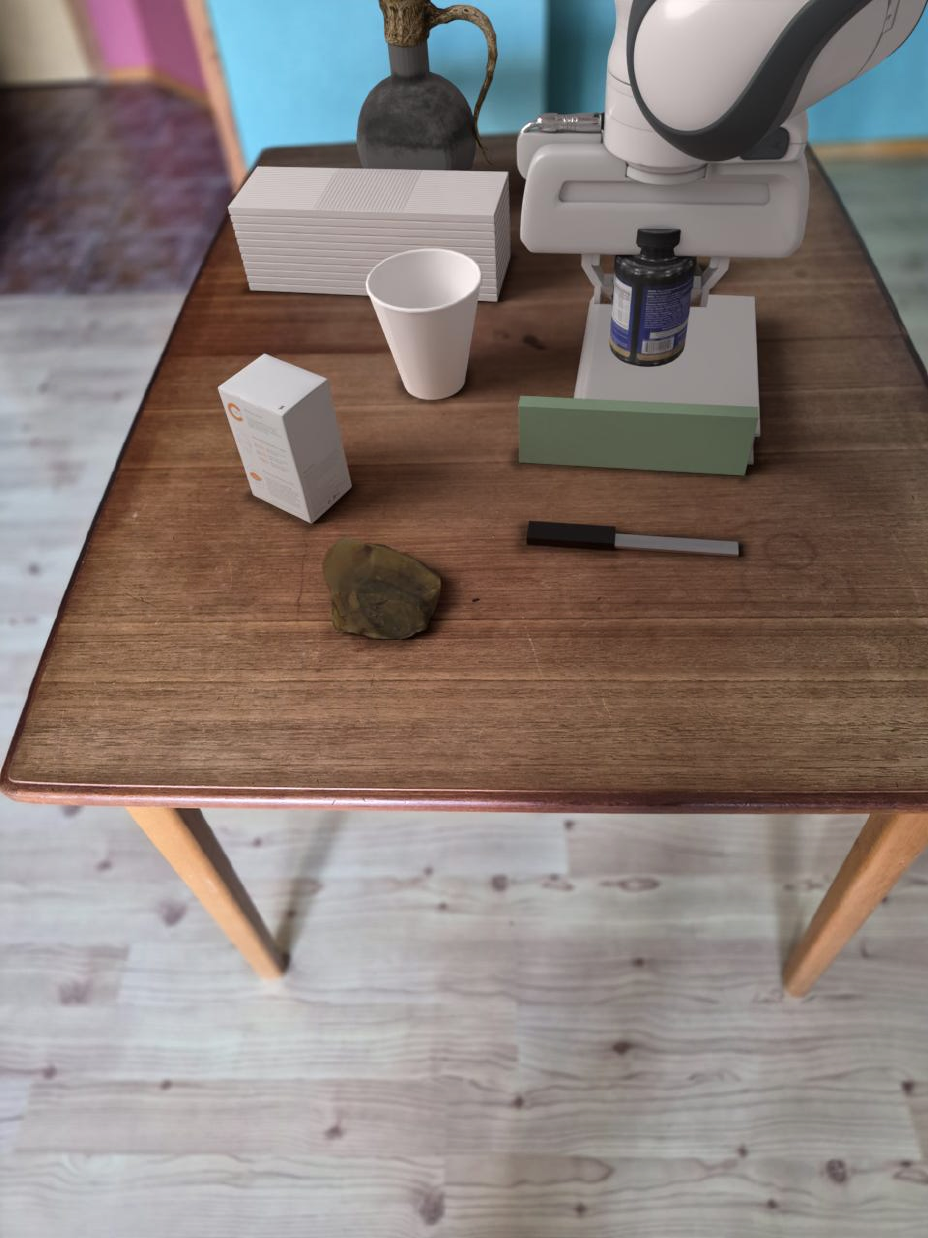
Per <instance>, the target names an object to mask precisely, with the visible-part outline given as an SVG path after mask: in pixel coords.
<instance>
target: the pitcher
mask: <svg viewBox="0 0 928 1238" xmlns="http://www.w3.org/2000/svg"><path fill="white" fill-rule="evenodd" d="M377 1H378V7H379V9H380V11H381V12H382V17H383V35H384V41H385V43H386V44H387V51H388V60H389V69H390V71H389V72H390V75H388V76H387V77H385V78H383V79H382V80H380V81H379V82H378V83H376V85H375V86H374V87H373V88H371V90H370V91H369V92H368V94H367V96H366V98H365V99H364V101H363V102H362V105H361V107H360V111H359V114H358V118H357V125H356V126H357V127H356V149H357V153H358V158H359V160H360V161H359V162H360V164H361V167H362V169H398V170H444V171H472V167H473V164H474V161H475V155H476V152H477V144H478V147H479V148H480V149H481V150H482V155H483V156H484V159H485V160H486V161H487V162H488V163H489V164H490V166H492V167H493V165H494V163H493V159H492V157H491V155H490V154H489V152H488V148H487V147H486V146H485V145H484V143H483V140H482V137H481V136H480V131H479V127H478V121H479V116H480V113H481V109H482V107H483V104H484V102H485V100H486V97H487V95H488V92H489V90H490V87H491V85H492V82H493V80H494V74H495V73H494V72H495V69H496V66H497V60H498V55H499V53H498V43H497V42H498V41H497V33H496V32H495V28H494V27H493V23H492V21H491V20H490V18H489V16H488V15H487V14H485V13H484V12H483V11H482V10H481V9H479V8H478V7H475V6H473V5H470V4H452V5H450V6H447V7H445V8H441V7H437V6H436V4H434V3H433V2H432V1H431V0H377ZM454 21H466V22H469V23H471V24H473V25H475V26H476V27H477V28H479V29H480V30H481V32H482V33H483V35H484V37H485V40H486V44H487V63H486V67H485V71H486V74H485V79H484V82H483V84H482V86H481V89H480V91H479V93H478V97H477V100H476V103H475V104H474V108H473V111H472V107H471V106H470V104H469V102H468V100H467V98H466V97H465V95H464V94H463V93H462V91H461V90H460V88H459V87H457V85H455V84H454V83H453V82H452V81H451V80H449V79H447V78H445V77H444V76H442V75H440V74H438V73H436V72H433V71H431V68H430V58H429V57H430V56H429V46H428V45H429V44H428V40H429V38H430V35H431V30H433V29H434V28H435V27H437V26H440V25H447V24H450V23H451V22H454Z"/></svg>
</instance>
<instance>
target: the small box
mask: <svg viewBox="0 0 928 1238" xmlns="http://www.w3.org/2000/svg"><path fill="white" fill-rule="evenodd" d="M217 390H218V393H219V396H220V399H221V403H222V405H223V408H224V411H225V414H226V416H227V420H228V423H229V426H230V429H231V432H232V435H233V438H234V441H235V444H236V448H237V450H238V453H239V456H240V460H241V463H242V465H243V468H244V471H245V475H246V477H247V480H248V484H249V487H250V489H251V494H252V495H253V496H254V497H256V498H258V499H260V500H262V501H263V502H266V503H268V504H271V505H272V506H274V507H277V508H278V509H279V510H283V511H285V512H286V513H289V514H291V515H292V516H293V517H294V516H295V517H296V518H299V519H300V520H303V521H305V522H307V523H309V524H310V525H311V524H314V522H316V521H317V520H318V519H319V518H320V517H321V516H322V515H323V514H325V513H326V512H327V511H328V510H329V509H330V508H331V507H333V505H334V504H335V503H337V502H338V501H339V500H340V499H341V498H342V497H343V496H344V495H345V494H346V493H347V492H348V491H349V490H350V489H351V488H352V485H353V484H352V481H351V480H352V479H351V476H350V472H349V468H348V463H347V457H346V453H345V449H344V444H343V439H342V436H341V431H340V426H339V423H338V418H337V414H336V409H335V404H334V401H333V396H332V391H331V387H330V382H329V379H328V377H324V376H322V375H319V374H317V373H314V372H312V371H309V370H307V369H304V368H302V367H299V366H297V365H295V364H292V363H290V362H287V361H285V360H282V359H280V358H277V357H274V356H272V355H269V354H267V353H262V355H260V356H259V357H257V358H256V359H254V360H253V361H252V362H251V363H249V364H247V366H245V367H244V368H242V369H241V370H240V371H238V372H237V373H235V374H234V375H233V376H231V377H230V378H229V379H227V380H226V381H224V382H223V383H221V384H220V385H218V387H217Z"/></svg>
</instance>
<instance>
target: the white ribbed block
mask: <svg viewBox="0 0 928 1238" xmlns="http://www.w3.org/2000/svg"><path fill="white" fill-rule="evenodd" d="M509 179H510V175H509V171H486V170H483V171H482V170H481V171H480V170H470V171H444V170H398V169H363V168H353V167H351V168H349V167H347V168H346V167H345V168H343V167H342V168H341V167H307V166H306V167H303V166H301V167H300V166H261V165H260V166H256V167H255V169H254V170H253V172H252V173H251V174H250V176H249V177H248V179H247V180H246V181H245V183H244V184H243V185H242V187H241V188H240V190H239V191H238V193H237V194H236V195H235V197H234V198H233V199H232V201H231V202H230V203H229V205H228V206H227V209H228V214H229V215H230V216H229V217H230V220H231V221H230V222H231V223H232V228H233V231H234V236H235V238H236V243H237V246H238V250H239V253H240V258H241V261H243V262H242V265H243V268H244V272H245V275H246V280H247V283H248V287H249V290H250V291H262V292H283V293H302V294H303V293H304V294H305V293H306V294H307V293H308V294H325V295H346V296H347V295H350V296H368V297H370V296H369V295H368V293H367V289H366V281H367V277H368V275H369V273H370V272H371V271H372V270H373V268H374V267H375V266H376V265H378V264H379V263H381V262H382V261H383V260H385V259H387V258H389V257H391V256H394V255H396V254H399V253H403V252H406V251H410V250H417V249H424V248H439V249H447V250H453V251H456V252H459V253H462V254H465V255H466V256H468V257H470V258H472V259H473V260H474V261H475V262H476V263H477V264H478V265H479V266H480V269H481V271H482V274H483V277H482V284H481V286H480V290H479V296H478V301H479V302H498V299H499V297H500V293H501V290H502V287H503V283H504V280H505V276H506V274H507V269H508V267H509V263H510V260H511V254H512V253H511V220H510V219H511V216H510V215H511V214H510V181H509Z"/></svg>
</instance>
